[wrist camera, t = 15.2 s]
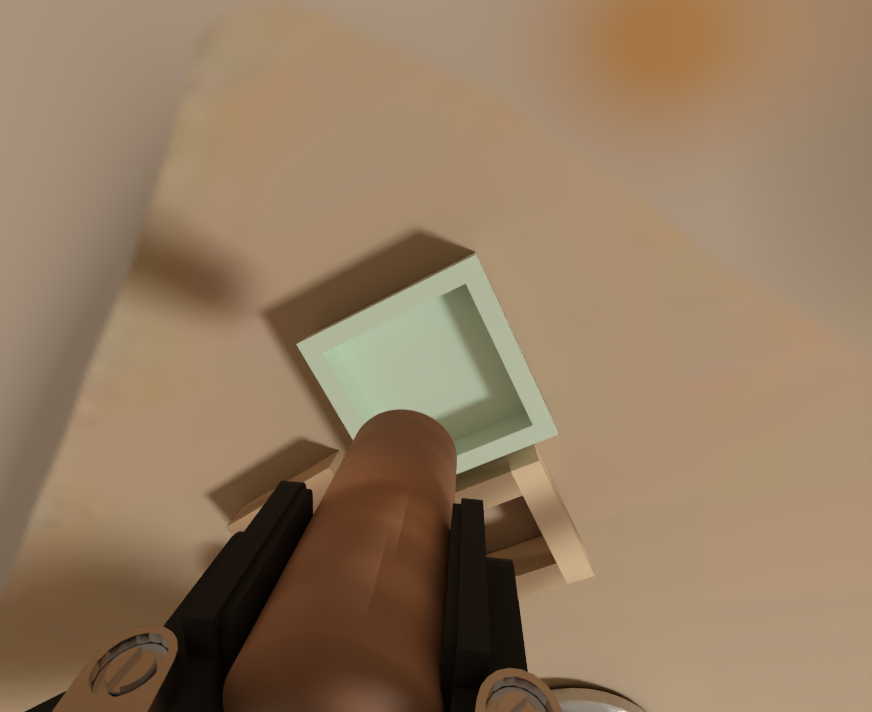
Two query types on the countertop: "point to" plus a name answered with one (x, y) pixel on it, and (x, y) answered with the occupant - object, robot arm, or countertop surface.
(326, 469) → the tan cardboard carton
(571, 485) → the countertop surface
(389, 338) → the tray
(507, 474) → the socket block
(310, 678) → the dowel
